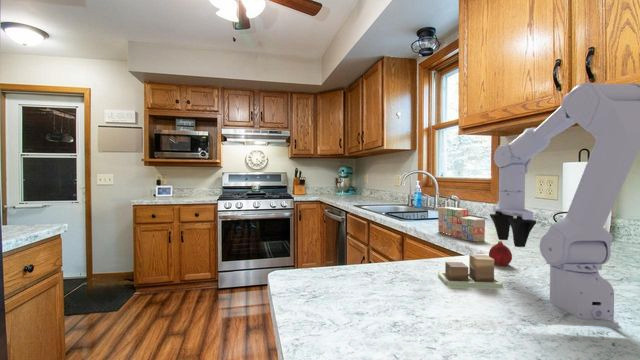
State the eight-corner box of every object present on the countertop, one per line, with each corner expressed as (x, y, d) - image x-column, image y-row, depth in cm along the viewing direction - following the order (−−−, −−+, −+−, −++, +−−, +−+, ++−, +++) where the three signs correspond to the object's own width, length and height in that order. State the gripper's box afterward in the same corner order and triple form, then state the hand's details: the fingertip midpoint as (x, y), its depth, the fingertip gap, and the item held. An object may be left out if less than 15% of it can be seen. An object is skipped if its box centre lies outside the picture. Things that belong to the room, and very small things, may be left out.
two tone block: (494, 284, 69) (494, 259, 68) (476, 284, 69) (476, 259, 69) (485, 278, 72) (486, 254, 72) (469, 278, 73) (469, 254, 73)
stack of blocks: (485, 241, 119) (485, 211, 119) (472, 242, 117) (473, 212, 117) (448, 231, 140) (449, 206, 139) (437, 232, 138) (438, 206, 138)
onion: (515, 271, 81) (516, 243, 81) (493, 270, 82) (493, 242, 82) (506, 265, 87) (507, 239, 87) (485, 264, 88) (486, 238, 88)
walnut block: (468, 283, 69) (468, 267, 69) (451, 283, 69) (451, 266, 69) (461, 277, 73) (461, 262, 73) (445, 277, 73) (445, 261, 73)
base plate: (508, 295, 65) (508, 286, 65) (449, 293, 67) (449, 284, 66) (486, 279, 75) (486, 271, 75) (435, 277, 76) (435, 270, 76)
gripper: (482, 189, 83) (481, 236, 83) (511, 193, 69) (510, 249, 69) (508, 190, 82) (507, 237, 83) (542, 193, 68) (542, 250, 68)
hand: (510, 243), depth 76 cm, fingers open, 7 cm apart
